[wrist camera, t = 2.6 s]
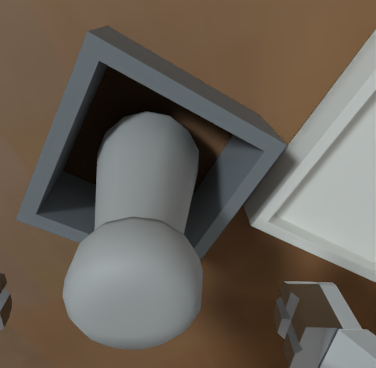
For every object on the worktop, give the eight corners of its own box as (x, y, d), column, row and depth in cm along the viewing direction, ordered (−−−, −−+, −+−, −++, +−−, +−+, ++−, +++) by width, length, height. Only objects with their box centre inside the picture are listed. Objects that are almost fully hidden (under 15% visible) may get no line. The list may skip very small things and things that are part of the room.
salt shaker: (205, 112, 19) (263, 256, 8) (184, 191, 22) (207, 383, 11) (109, 92, 18) (23, 223, 7) (100, 177, 21) (26, 371, 10)
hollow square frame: (181, 231, 24) (185, 280, 19) (46, 175, 21) (15, 219, 16) (259, 115, 20) (287, 145, 15) (107, 25, 17) (87, 31, 12)
